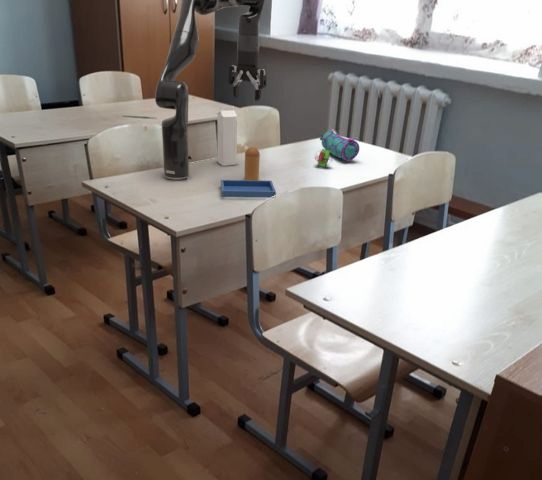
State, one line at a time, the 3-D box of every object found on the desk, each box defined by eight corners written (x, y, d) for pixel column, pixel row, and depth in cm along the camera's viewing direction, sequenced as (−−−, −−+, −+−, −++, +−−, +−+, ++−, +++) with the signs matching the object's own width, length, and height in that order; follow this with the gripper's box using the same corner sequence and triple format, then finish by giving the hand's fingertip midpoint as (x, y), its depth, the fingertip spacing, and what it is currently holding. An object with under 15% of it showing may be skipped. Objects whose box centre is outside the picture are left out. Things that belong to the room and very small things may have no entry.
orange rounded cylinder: (243, 179, 226) (244, 145, 219) (257, 179, 227) (259, 145, 220) (244, 183, 222) (245, 149, 215) (259, 184, 222) (260, 149, 215)
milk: (217, 162, 244) (216, 105, 232) (230, 160, 246) (231, 104, 235) (223, 166, 240) (222, 108, 228) (236, 164, 242) (237, 107, 230)
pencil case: (318, 150, 268) (320, 128, 263) (335, 149, 271) (337, 127, 266) (341, 163, 252) (344, 139, 247) (359, 161, 255) (362, 138, 250)
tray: (220, 187, 217) (220, 179, 215) (271, 188, 219) (271, 180, 217) (222, 198, 206) (222, 190, 205) (275, 199, 208) (275, 191, 207)
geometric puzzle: (325, 156, 251) (319, 142, 245) (337, 160, 247) (332, 146, 241) (315, 169, 250) (309, 155, 243) (328, 173, 246) (322, 159, 240)
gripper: (271, 50, 205) (269, 100, 214) (236, 46, 210) (235, 95, 219) (260, 52, 199) (258, 103, 208) (224, 47, 205) (224, 97, 213)
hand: (246, 99), depth 214 cm, fingers open, 8 cm apart
